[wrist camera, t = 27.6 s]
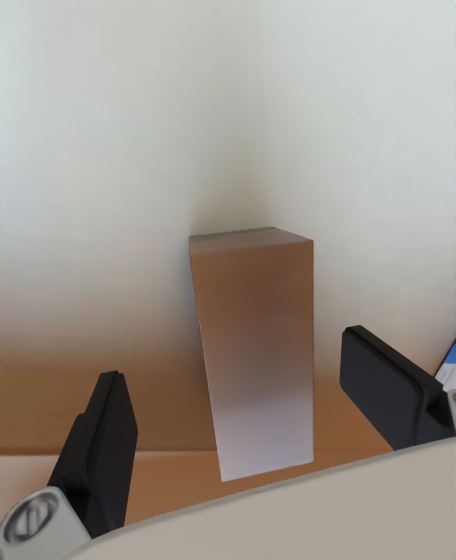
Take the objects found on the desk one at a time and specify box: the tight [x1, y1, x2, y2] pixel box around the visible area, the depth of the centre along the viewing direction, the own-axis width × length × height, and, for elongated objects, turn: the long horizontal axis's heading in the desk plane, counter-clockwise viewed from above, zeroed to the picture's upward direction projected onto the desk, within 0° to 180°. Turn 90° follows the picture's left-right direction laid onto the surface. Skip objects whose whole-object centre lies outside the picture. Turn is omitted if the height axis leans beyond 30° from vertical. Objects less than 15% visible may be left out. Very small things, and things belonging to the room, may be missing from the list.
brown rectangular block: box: [189, 227, 314, 482], centre depth 15 cm, size 5×12×6 cm, turn 5°
